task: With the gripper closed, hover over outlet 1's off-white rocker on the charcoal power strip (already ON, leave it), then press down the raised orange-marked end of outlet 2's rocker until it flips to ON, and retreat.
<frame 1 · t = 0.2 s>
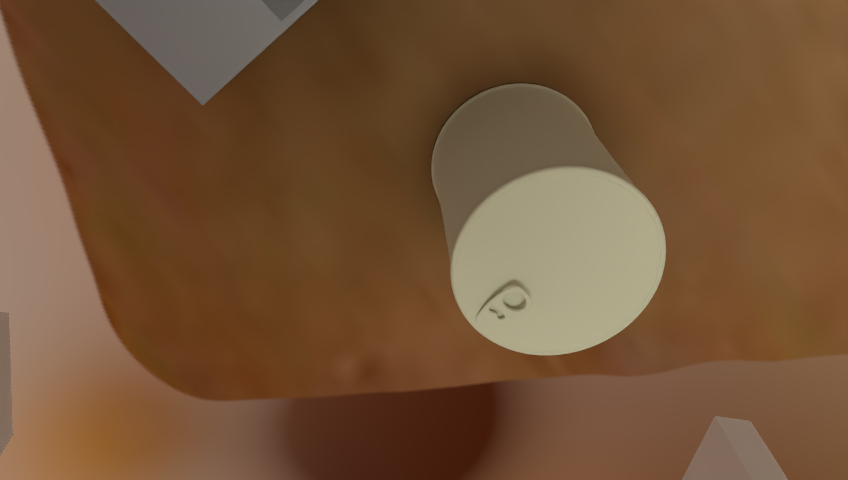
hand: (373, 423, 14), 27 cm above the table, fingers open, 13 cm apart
can: (513, 162, 42), on the table
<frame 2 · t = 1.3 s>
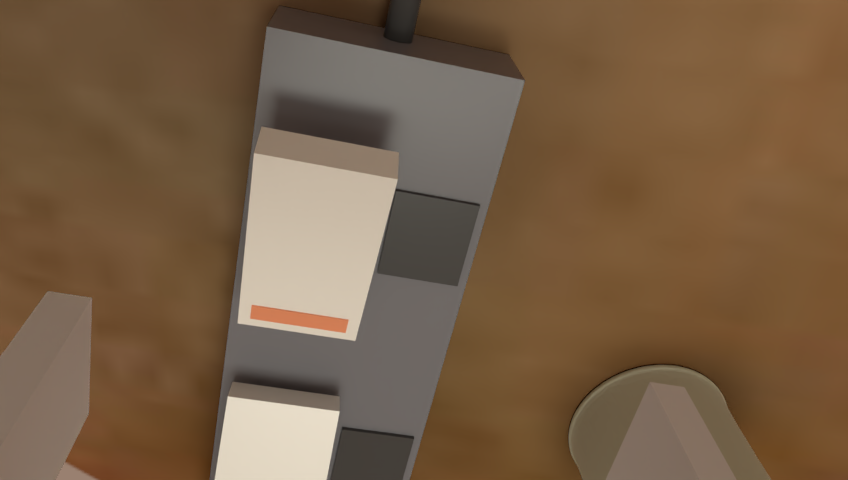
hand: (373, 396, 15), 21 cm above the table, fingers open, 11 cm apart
power strip: (341, 303, 38), on the table
rocker 1: (312, 244, 30), point 6 cm above the table, hinge at 15.0°
can: (645, 425, 44), on the table
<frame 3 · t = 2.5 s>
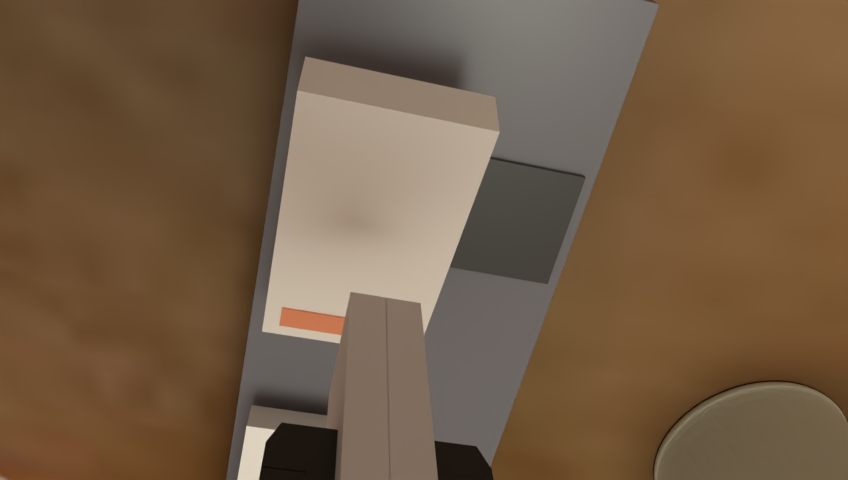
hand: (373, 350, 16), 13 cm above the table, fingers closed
power strip: (385, 304, 31), on the table
rocker 1: (367, 225, 22), point 6 cm above the table, hinge at 15.0°
can: (747, 453, 36), on the table
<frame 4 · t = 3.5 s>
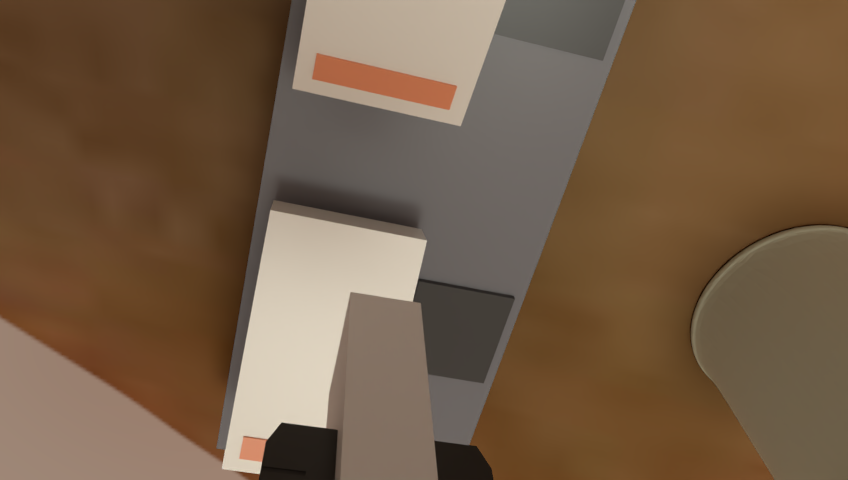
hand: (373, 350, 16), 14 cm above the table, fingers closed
power strip: (416, 117, 28), on the table
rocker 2: (322, 348, 25), point 6 cm above the table, hinge at -15.0°
can: (789, 311, 34), on the table
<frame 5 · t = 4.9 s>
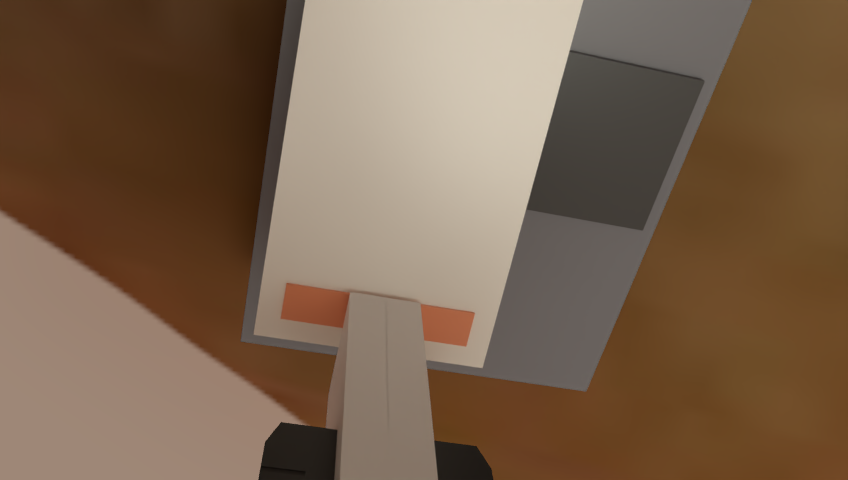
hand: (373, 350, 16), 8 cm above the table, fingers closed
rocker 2: (411, 142, 15), point 6 cm above the table, hinge at -8.7°, touching gripper
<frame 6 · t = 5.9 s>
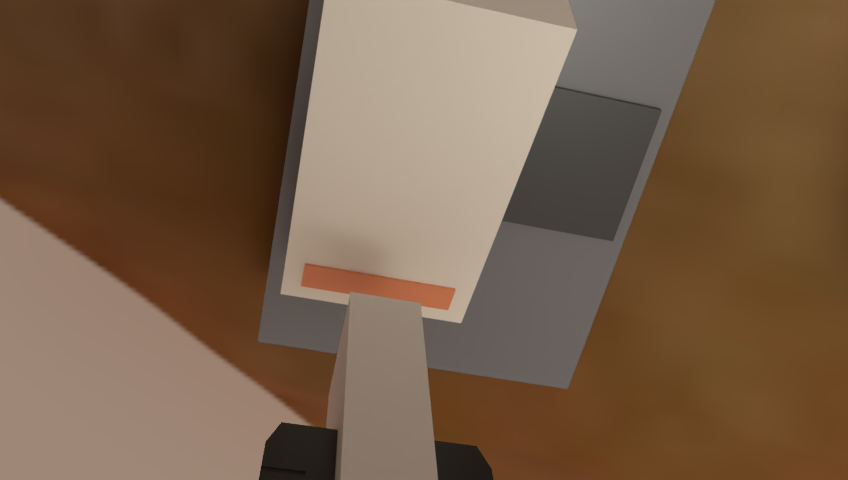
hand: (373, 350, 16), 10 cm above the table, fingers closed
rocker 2: (407, 161, 18), point 6 cm above the table, hinge at 15.7°
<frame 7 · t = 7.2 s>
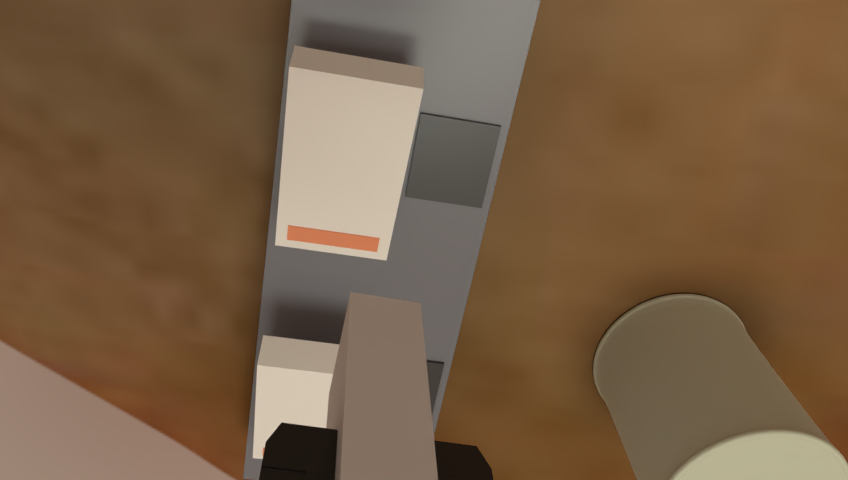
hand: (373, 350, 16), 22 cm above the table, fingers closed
power strip: (370, 238, 40), on the table
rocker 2: (308, 407, 37), point 6 cm above the table, hinge at 20.4°, touching power strip
rocker 1: (344, 162, 31), point 6 cm above the table, hinge at 15.0°
can: (668, 356, 45), on the table
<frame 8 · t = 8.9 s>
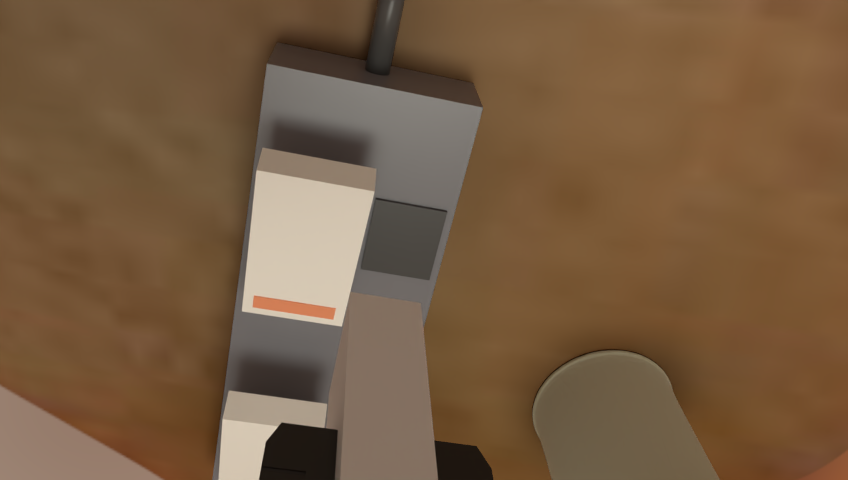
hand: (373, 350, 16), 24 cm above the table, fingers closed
power strip: (331, 295, 44), on the table
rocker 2: (269, 451, 41), point 6 cm above the table, hinge at 20.7°, touching power strip
rocker 1: (305, 244, 35), point 6 cm above the table, hinge at 15.0°
can: (601, 404, 49), on the table
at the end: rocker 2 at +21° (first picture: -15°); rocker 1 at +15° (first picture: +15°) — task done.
